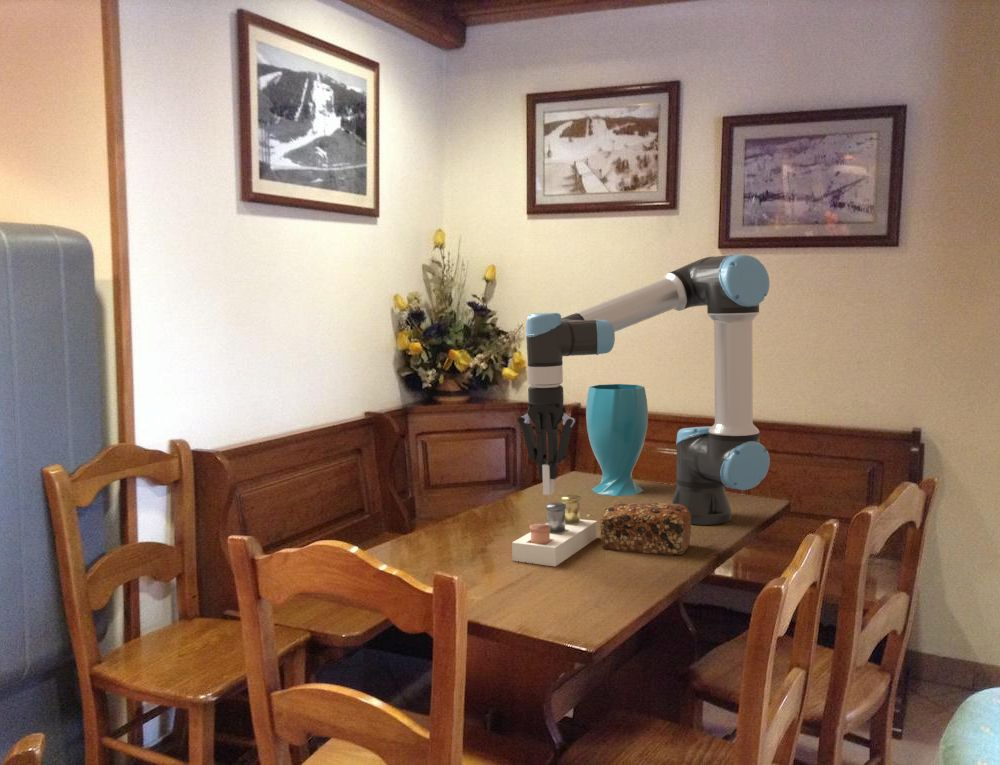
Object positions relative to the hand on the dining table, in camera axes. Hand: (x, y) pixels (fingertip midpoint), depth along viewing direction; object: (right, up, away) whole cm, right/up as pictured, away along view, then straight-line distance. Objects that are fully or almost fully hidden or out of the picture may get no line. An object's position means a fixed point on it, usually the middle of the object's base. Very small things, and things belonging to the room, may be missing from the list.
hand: (548, 493), depth 192 cm
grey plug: (+2, -9, +5) cm, 11 cm away
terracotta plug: (-2, -12, -2) cm, 13 cm away
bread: (+22, -13, +6) cm, 26 cm away
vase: (+23, -7, +64) cm, 68 cm away
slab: (+2, -13, +6) cm, 14 cm away
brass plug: (+6, -8, +13) cm, 16 cm away
